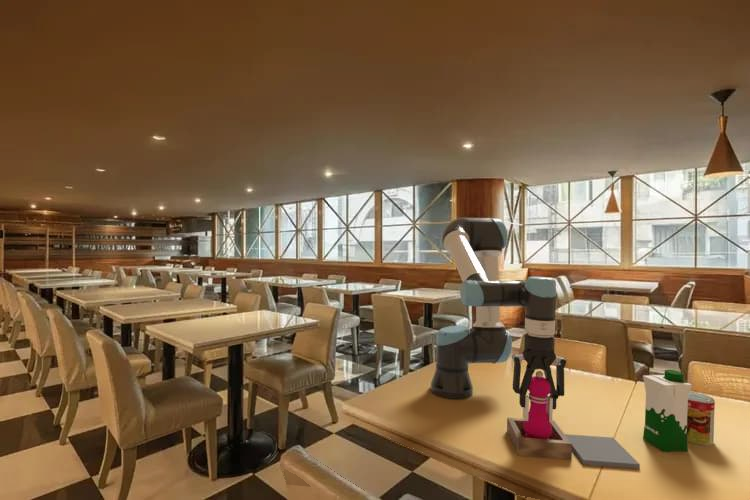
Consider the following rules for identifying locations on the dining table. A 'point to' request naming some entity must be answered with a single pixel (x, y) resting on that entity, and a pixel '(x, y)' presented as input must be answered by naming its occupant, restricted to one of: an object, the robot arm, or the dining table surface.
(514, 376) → the robot arm
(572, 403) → the dining table surface
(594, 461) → the coaster
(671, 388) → the milk carton
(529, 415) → the pepper mill
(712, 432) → the canned food
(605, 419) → the dining table surface
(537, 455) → the brown wooden square tray
